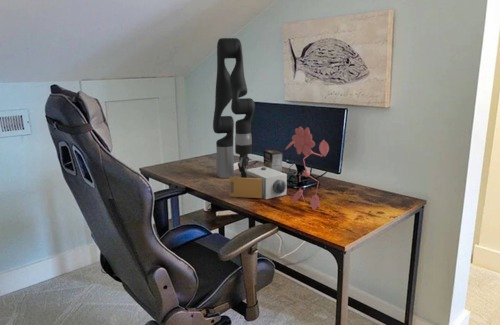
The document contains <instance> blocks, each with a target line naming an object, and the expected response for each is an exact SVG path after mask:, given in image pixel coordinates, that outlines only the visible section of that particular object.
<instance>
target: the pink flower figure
mask: <svg viewBox="0 0 500 325" xmlns="http://www.w3.org/2000/svg"><path fill="white" fill-rule="evenodd" d="M294 133H295V134H293V135H292V136H291V140H292V141H290V143H288V145H287V146H286V147H285V149H284V150H285V151H286V150H288V149H289V148H290V147H291V146H292V145H293V147H294V148H296V154H297V155H301V154H303V155H304V157H303V159H302V162H303V166H304V170H305V171H303V173H302V174H301V175H299V181H301V177H302V176H304V177H305V178H307V177H308V178H311V179H313V180H314V181H316V182H317V185H316V191H315V194H314V195H312V196H311V198H310V202H309V204H310V207H311V209H312V211H316V210H317V208H321V207H320V198H319V196H318V195H317V193H318V188H319V184H320V182H319V180H318V179H315V178H314V177H313V176H311V172H310V170H307V168H306V162H305V159H307V158H308V157H309V156H310V155H312V154H313V155H315V156H319V157H321V158H322V157H327V155H328V153H329V150H330V146H329V143H328V142H327V141H325V139H323V140H322V141H321V142H320V143H319V146H318V150H319V153H320V154H319V153H316V152H314V151H313V150H312V149H313V148H314V147H315V146H316V142H315V141H314V140H313V134H312V133H311V131H310V128H309V127H308V126H307V127H306V128H305V129H304V128H303V127H302V126H299V127H298V128H297V127H296V128H295V129H294ZM300 198H302V200H303V202H304V203H305V202H306V200H305V198H304V195H303V189H298V190H297V191H296V192H295V193H294V195H293V197H292V200H291V203H295V202H297V201H298V200H299V199H300ZM285 211H287V213H290V214H291V213H292V214H295V215H296V213H295V212H292V211H290V210H289V211H288V210H287V209H285ZM298 216H302V214H300V213H298ZM307 216H311V217H312V216H313V214H311V215H310V214H309V215H308V214H307Z"/></svg>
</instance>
